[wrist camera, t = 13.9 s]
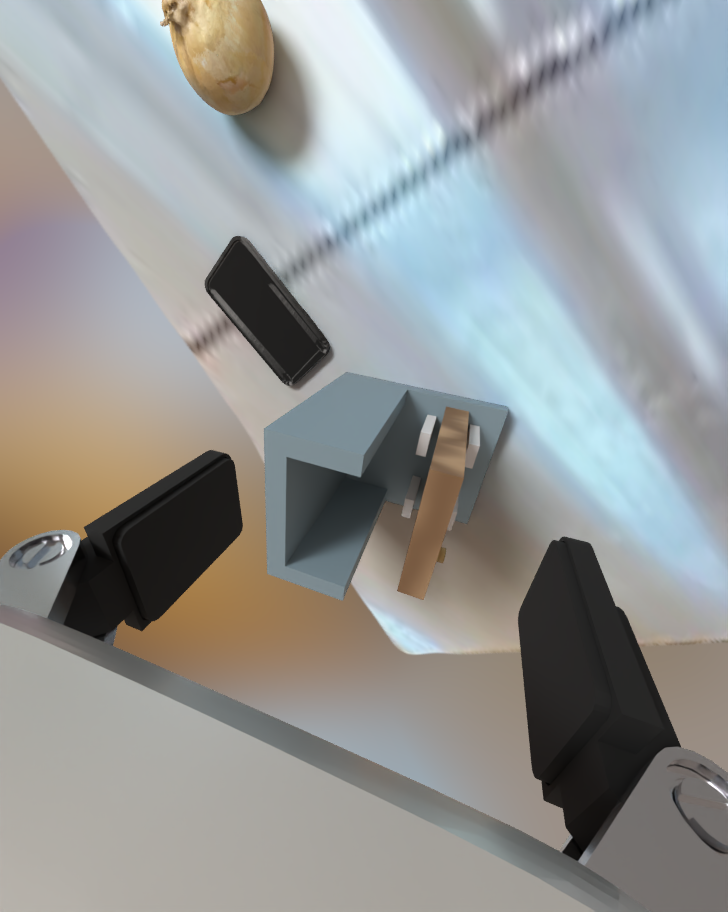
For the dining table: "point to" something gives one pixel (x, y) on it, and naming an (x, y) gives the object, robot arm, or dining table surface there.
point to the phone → (265, 311)
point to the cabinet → (358, 471)
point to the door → (436, 504)
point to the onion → (223, 50)
